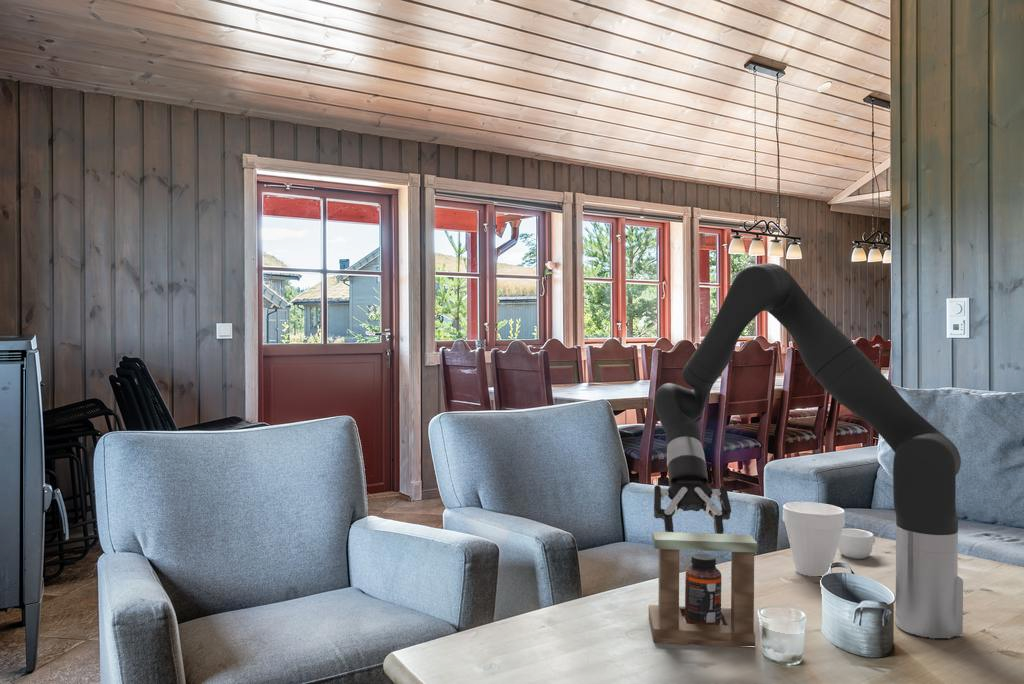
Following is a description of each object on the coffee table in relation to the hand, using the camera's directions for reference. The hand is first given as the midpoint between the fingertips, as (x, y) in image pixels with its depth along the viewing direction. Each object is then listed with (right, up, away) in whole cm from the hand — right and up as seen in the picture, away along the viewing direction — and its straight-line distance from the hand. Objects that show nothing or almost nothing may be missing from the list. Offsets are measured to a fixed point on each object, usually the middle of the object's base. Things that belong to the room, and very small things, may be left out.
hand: (694, 536), depth 137 cm
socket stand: (-2, -13, -13) cm, 19 cm away
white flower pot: (+30, -13, +20) cm, 38 cm away
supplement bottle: (-2, -12, -12) cm, 17 cm away
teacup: (+46, -13, +32) cm, 57 cm away
